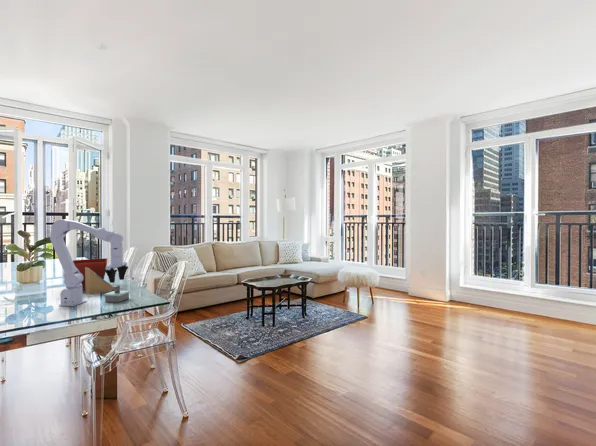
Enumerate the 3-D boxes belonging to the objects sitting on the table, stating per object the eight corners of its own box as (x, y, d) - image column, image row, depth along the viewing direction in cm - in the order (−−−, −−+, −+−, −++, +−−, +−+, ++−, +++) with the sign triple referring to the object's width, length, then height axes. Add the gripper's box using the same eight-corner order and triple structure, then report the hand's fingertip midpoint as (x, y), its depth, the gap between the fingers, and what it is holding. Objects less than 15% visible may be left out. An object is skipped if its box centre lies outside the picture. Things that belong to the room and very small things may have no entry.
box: (119, 302, 174) (119, 296, 174) (105, 302, 175) (105, 295, 175) (128, 298, 182) (128, 292, 182) (115, 298, 183) (115, 291, 183)
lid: (119, 297, 173) (119, 288, 173) (104, 296, 174) (104, 287, 174) (129, 293, 182) (129, 284, 182) (115, 292, 183) (115, 284, 183)
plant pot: (73, 285, 213) (73, 259, 213) (107, 282, 222) (107, 258, 222) (69, 292, 196) (69, 263, 196) (106, 288, 205) (106, 261, 205)
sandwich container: (118, 290, 202) (117, 265, 202) (89, 294, 191) (89, 268, 191) (113, 287, 208) (113, 264, 208) (85, 292, 197) (84, 267, 197)
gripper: (114, 257, 170) (114, 284, 170) (131, 254, 184) (132, 278, 185) (101, 257, 171) (102, 283, 171) (120, 254, 185) (120, 278, 186)
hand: (117, 281), depth 178 cm, fingers open, 7 cm apart
